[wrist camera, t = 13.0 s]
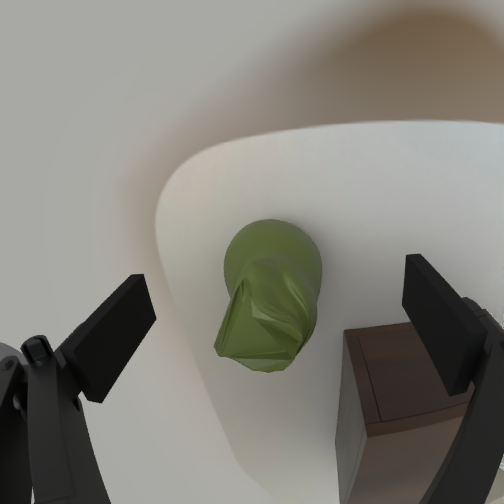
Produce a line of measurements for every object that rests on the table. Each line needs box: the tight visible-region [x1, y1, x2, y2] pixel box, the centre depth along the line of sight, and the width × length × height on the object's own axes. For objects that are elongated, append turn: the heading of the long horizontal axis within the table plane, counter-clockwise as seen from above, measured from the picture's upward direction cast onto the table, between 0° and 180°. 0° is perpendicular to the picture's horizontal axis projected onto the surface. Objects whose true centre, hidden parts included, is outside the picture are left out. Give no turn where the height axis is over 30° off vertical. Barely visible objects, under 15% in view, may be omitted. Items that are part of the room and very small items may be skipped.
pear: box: [214, 219, 322, 373], centre depth 15 cm, size 6×5×10 cm
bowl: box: [485, 468, 504, 504], centre depth 25 cm, size 16×16×10 cm
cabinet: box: [335, 309, 504, 504], centre depth 19 cm, size 15×13×10 cm
